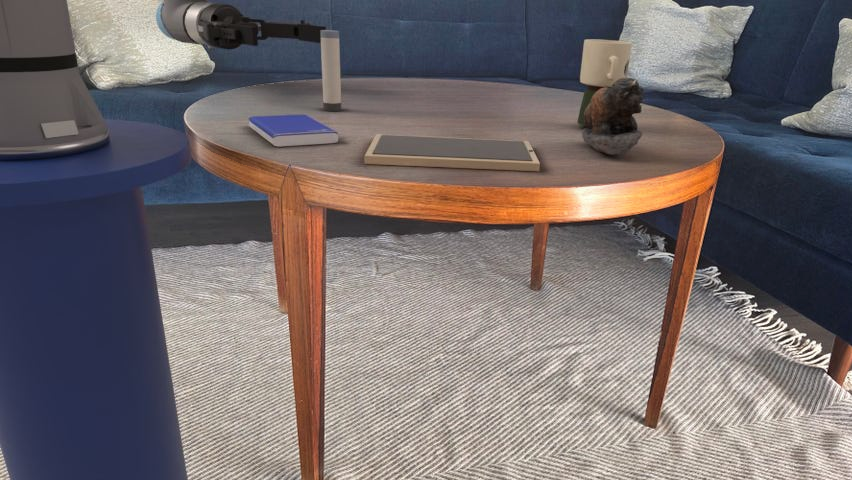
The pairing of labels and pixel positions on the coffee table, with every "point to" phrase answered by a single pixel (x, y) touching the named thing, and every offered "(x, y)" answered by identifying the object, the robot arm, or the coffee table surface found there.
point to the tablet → (452, 153)
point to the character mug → (602, 67)
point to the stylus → (331, 70)
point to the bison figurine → (614, 117)
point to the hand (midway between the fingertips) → (291, 35)
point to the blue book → (292, 130)
